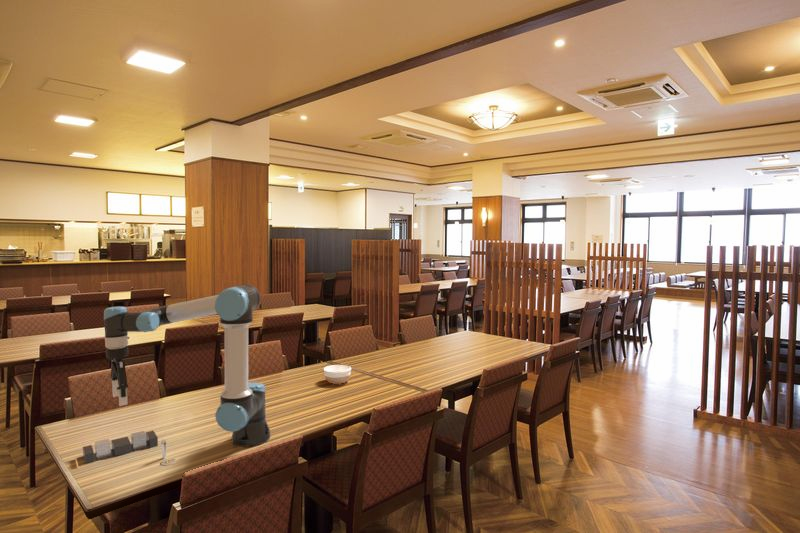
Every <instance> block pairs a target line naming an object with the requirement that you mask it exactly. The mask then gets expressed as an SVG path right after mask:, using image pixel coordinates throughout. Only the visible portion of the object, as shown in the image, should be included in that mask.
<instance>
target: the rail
mask: <svg viewBox="0 0 800 533" xmlns="http://www.w3.org/2000/svg"><path fill="white" fill-rule="evenodd" d="M145 434H146V447H144V448H140V449H136V450H133V448H132V446H131V440H130V439H129V437H128V436H123V437H119V438H116V439H112V440H110V446H111V456H107V457H103V458H99V459H97V458H96V455H95V451H94V449H93V446H92V444H90V445H85V446H82V457H83V461H84V465H87V464H92V463H95V462H98V461H103V460H107V459H110V458H115V457H118V456H122V455H127V454H131V453H134V452H138V451H143V450H146V449H150V448H151V449H152V448H155V447H158V444H159V441H158V439H159V438H158V437H159V436H157V434H156V432H155V431H154V430H150V431H145Z"/></svg>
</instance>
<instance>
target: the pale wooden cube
mask: <svg viewBox="0 0 800 533" xmlns="http://www.w3.org/2000/svg"><path fill="white" fill-rule="evenodd" d="M111 449H112V445H111V440H110V439H109V438H106V439H101V440H98V441H94V453H95V455H96V458H97V459H99V458H103V457H107V456H111Z"/></svg>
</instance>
